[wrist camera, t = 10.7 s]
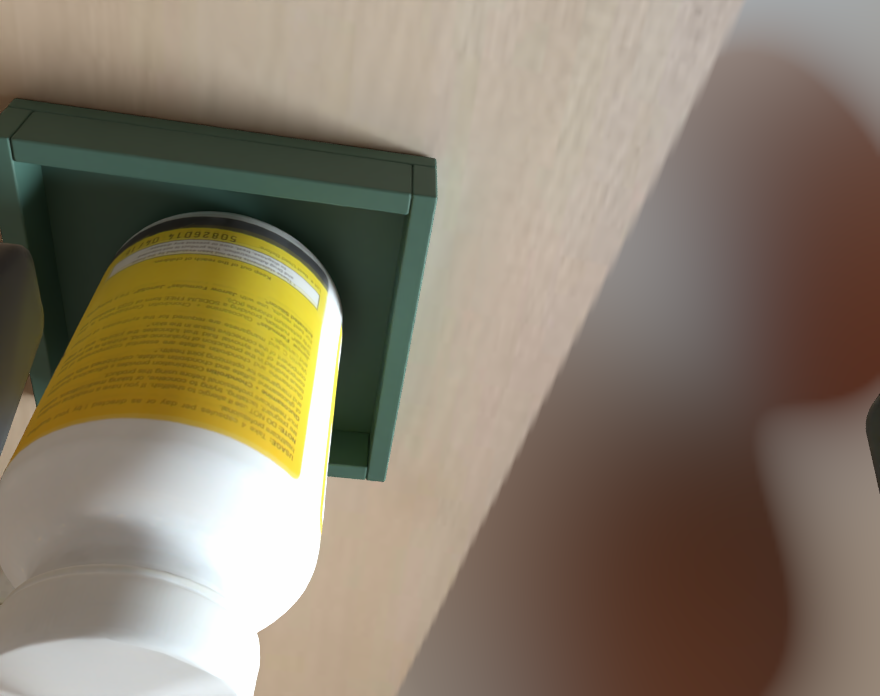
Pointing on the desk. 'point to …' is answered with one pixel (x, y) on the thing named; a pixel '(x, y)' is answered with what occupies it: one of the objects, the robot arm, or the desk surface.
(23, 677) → the pill bottle
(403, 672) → the desk surface
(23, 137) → the tray
